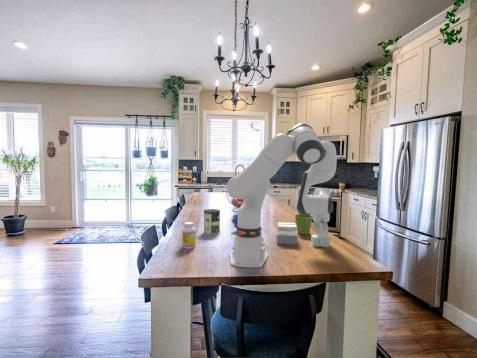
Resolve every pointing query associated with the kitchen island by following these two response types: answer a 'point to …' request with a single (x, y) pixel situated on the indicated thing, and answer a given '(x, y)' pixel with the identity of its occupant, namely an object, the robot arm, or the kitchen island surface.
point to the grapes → (235, 220)
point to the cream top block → (287, 229)
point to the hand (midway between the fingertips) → (320, 241)
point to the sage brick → (316, 241)
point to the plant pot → (303, 223)
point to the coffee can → (211, 221)
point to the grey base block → (286, 239)
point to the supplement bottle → (188, 236)
